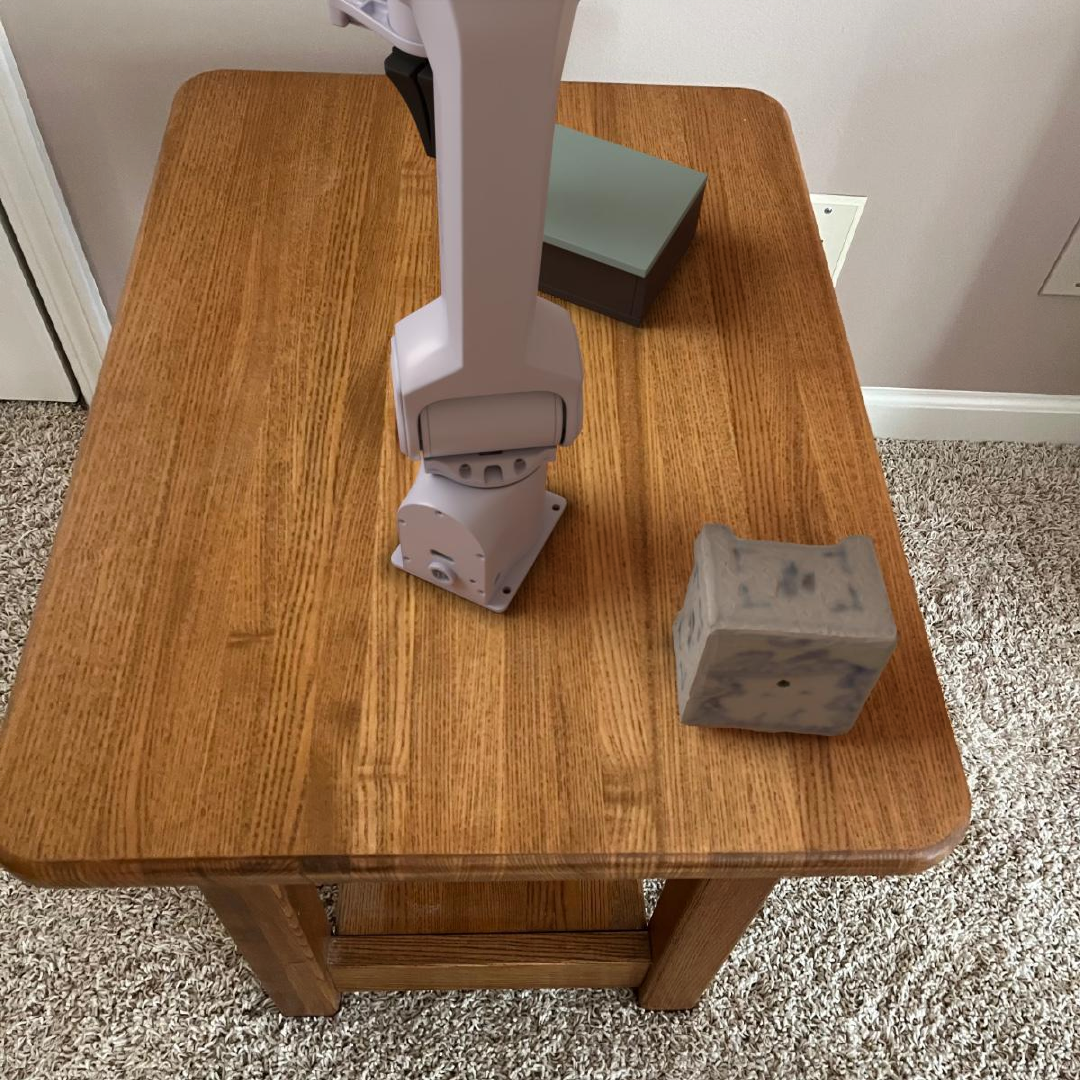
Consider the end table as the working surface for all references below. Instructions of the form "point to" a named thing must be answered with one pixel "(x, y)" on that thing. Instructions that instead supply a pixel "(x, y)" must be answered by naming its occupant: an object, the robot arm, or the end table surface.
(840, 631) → the incense holder
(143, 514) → the end table surface
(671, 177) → the lid
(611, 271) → the case
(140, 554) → the end table surface
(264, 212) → the end table surface
